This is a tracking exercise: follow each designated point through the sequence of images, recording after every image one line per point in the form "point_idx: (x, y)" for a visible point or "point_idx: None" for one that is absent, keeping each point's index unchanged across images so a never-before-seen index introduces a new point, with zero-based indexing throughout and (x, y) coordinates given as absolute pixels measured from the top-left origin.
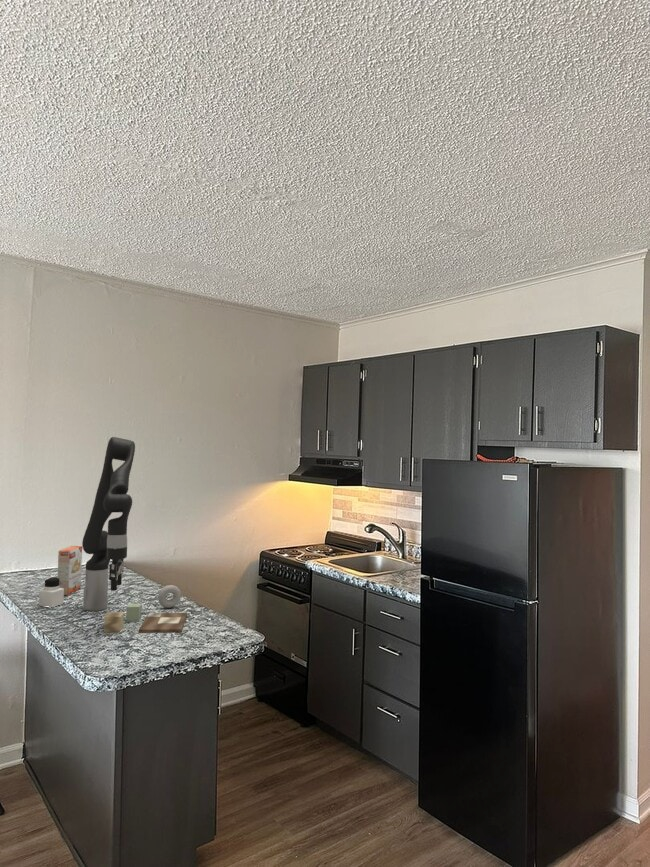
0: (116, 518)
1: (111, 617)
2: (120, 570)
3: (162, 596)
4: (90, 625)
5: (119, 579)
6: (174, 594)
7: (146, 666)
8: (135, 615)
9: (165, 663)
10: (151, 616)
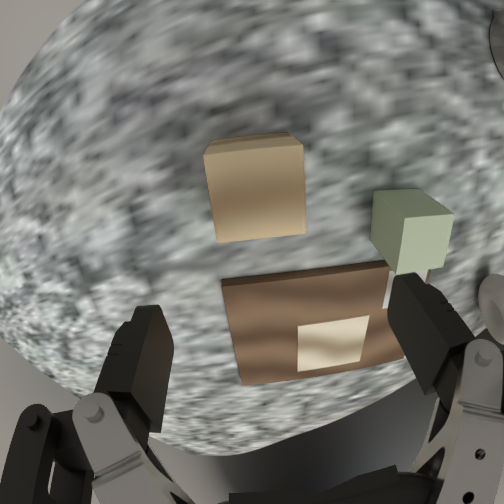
0: None
1: (209, 193)
2: (416, 472)
3: (498, 301)
4: (317, 44)
5: (414, 348)
6: (497, 327)
7: (15, 341)
8: (381, 239)
9: (42, 367)
10: (389, 283)
